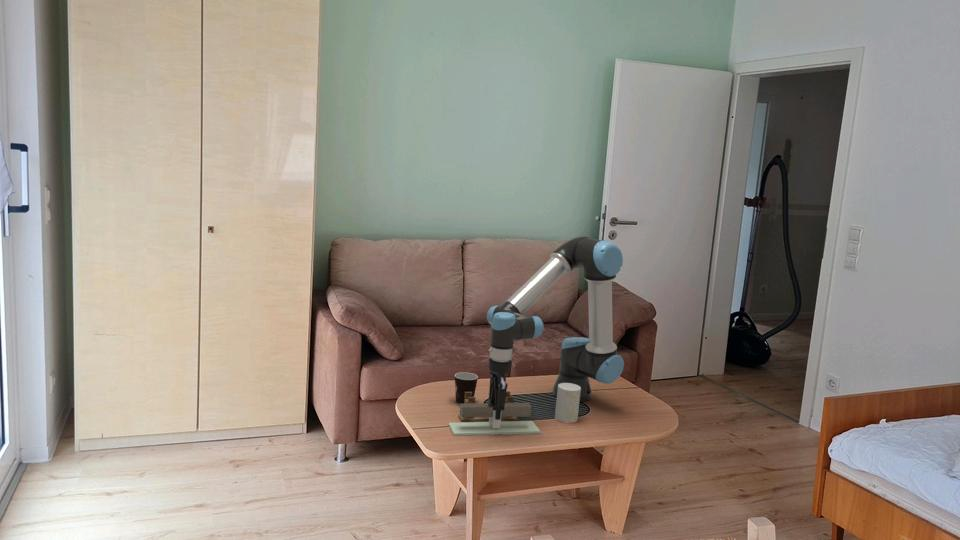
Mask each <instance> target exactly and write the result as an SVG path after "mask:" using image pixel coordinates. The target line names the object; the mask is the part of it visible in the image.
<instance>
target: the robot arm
mask: <svg viewBox="0 0 960 540" xmlns="http://www.w3.org/2000/svg"><path fill="white" fill-rule="evenodd" d="M623 263H624V257H623V253H622V250H621V249H620V247H619V246H618V245H617V244H615V243H614V242H613V243H612V242H610V241H608V240H602V239H599V238H598V239H596V238H592V237H589V236H577V237H574V238H572V239H569V240H566V241H565V242H564V243H563V244H561V245H560V246H558V247H557V248H556V249H555V250H554V251H553V252H552V253H551V254H550V256H549V259H548V261H546V262H545V263H544V264H543V265H542V266H541V267H540V268H539V269H538V270H536V272H535V273H534V274H533V275H532V276H530V278H529V279H528V280H526V281H525V282H524V283H523V285H521V286H520V287H519V288H518V289H517V290H516V291H515V292H514V293H513V294H512V295H511V296H510V297H509V298H508V299H507V300H506V301H505V302H504V303H503V304H502V305H493V306H491V307H490V308H489V309H488V311H487V313H486V320H487V323H488V324H489V325H490V326H491V333H490V346H489V347H490V348H488V352H489V359H488V370H489V391H488V400H489V403H495V408H493V417H489V423H492V428H500V425H501V422H502V421H501V414H502V410H504V407H505V398H506V391H508V390H507V389H508V386H509V383H508V382H507V381H506V380H507V377H506V374H508V373H510V372H511V369H512V359H513V350H514V341H523V340H533V339H536V338H537V339H538V338H539V337H541V336H542V335H543V332H544V327H545V325H544V322H543V320H542V319H541V318H540V317H539V316H537V315H536V316H535V315H530V316H526V315H524V313H525V312H527V311H528V310H529V309H530V308H531V307H532V306H533V305H534V304H535V303H536V302H537V301H538V300H539V299H540V298H541V297H542V296H543V295H544V294H545V293H547V291H548V290H549V289H550V288H551V287H552V286H553V285H555V283H556V282H558V280H560V279H561V277H563V276H564V275H565V274H567V275H568V274H570V273H571V272H572V271H573V270H575V269H582V270H583V273H582V274H583V279H584V280H585V281H586V282H587V296H588V298H587V299H588V332H589V333H588V337H583V336H582V337H581V336H579V337H578V336H573V337H567V338H564V339H563V340H562V343H561V348H560V358H559V359H560V360H559V369H558V371H559V372H558V375H557V377H556V380H555V382H554V384H553V387H552V395H553V396H555V397H556V398H557V391H558V384H560V383H572V384H576V385H578V386H580V387H581V391H580V401H579V403H581V402H587V401H590V399H591V398H592V388H591V384H590V379H593V380H595V381H597V382H598V383H601V384H606V385H610V384H612V383H614V382H616V381H617V380H619V377H620V376H621V374H622V372H623V371H624V367H625V361H624V358H623V357H622V356H621V355H619V354H618V346H617V343H615V342H614V341H613V340H614V338H613V328H614V327H613V281H614V280H615V279H616V278H617V274H619V272H620V271H621V268H622V267H623ZM589 378H590V379H589ZM506 382H507V383H506Z"/></svg>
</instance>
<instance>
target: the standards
mask: <svg viewBox="0 0 960 540" xmlns="http://www.w3.org/2000/svg"><path fill="white" fill-rule="evenodd" d="M465 398H468V399H465V401H464V404H468V403H476V396H474V397H472V392H465ZM505 403H515V396H511V391H508V390H506V398H505ZM458 419H459V420H460V422H489V417H461V415H460V413H459V414H458ZM504 421H518V418H517V417H501V422H504Z"/></svg>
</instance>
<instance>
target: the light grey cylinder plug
mask: <svg viewBox="0 0 960 540" xmlns="http://www.w3.org/2000/svg"><path fill="white" fill-rule="evenodd" d="M580 391H581V387H580V386H578V385H576V384H572V383H560V384H558V391H557V397H556V401H555V402H556V403H555V410H554V411H555V412H554V419H555V420H556V419H557V421H558V420H559V421H558V422H560V421H562V422H561V423H565V422H568V424H571V423H570V422H574V423H576V422H577V421H578V418H579V417H578V416H579V406H580V402H579V401H580Z"/></svg>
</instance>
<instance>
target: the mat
mask: <svg viewBox="0 0 960 540" xmlns="http://www.w3.org/2000/svg"><path fill="white" fill-rule="evenodd" d="M447 425H448V427H449V429H450V431H451V433H452V435H453V437H455V436H456V437H457V436H458V437H459V436H464V437H465V436H493V435H494V436H495V434H496V436H497V434H499V435H500V434H502V435H530V434H531V435H532V434H533V435H535V434H536V435H537V434H541V432H542V431H541V430H540V428H539V427H538V426H537V424H535V422H534V421H533V420H517V421H501V425H500V428H492V423H489V422H461V421H460V422H448V424H447ZM499 435H498V436H499Z"/></svg>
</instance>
